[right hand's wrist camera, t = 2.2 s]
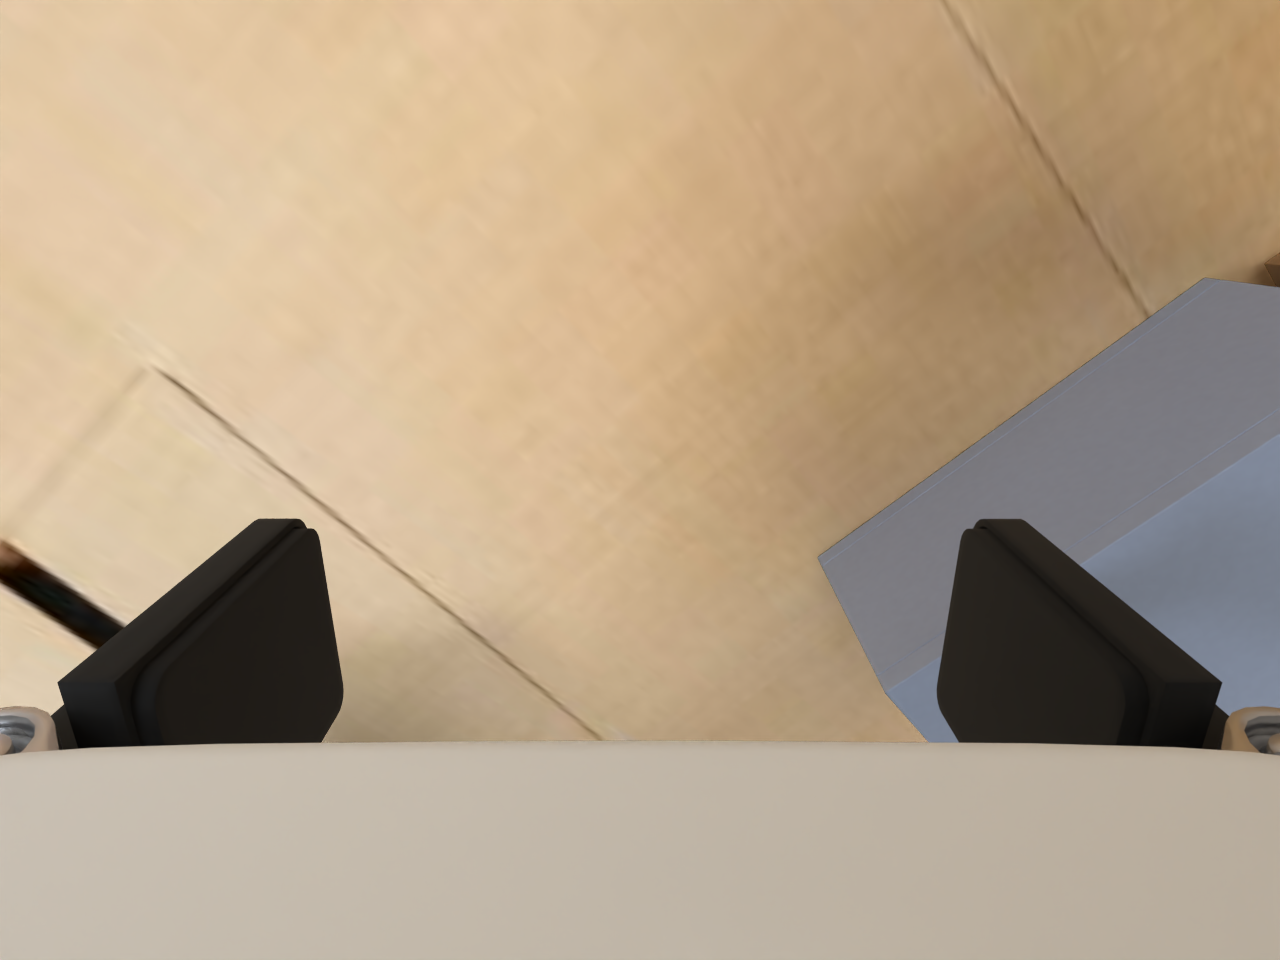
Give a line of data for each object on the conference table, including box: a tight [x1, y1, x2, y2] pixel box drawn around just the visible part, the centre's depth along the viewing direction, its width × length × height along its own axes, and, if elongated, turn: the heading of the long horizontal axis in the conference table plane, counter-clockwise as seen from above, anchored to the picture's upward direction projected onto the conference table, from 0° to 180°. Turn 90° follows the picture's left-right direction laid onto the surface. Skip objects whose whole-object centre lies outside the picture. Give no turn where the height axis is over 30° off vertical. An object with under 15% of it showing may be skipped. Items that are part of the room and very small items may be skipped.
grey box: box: [818, 278, 1280, 743], centre depth 33 cm, size 22×11×12 cm, turn 130°
